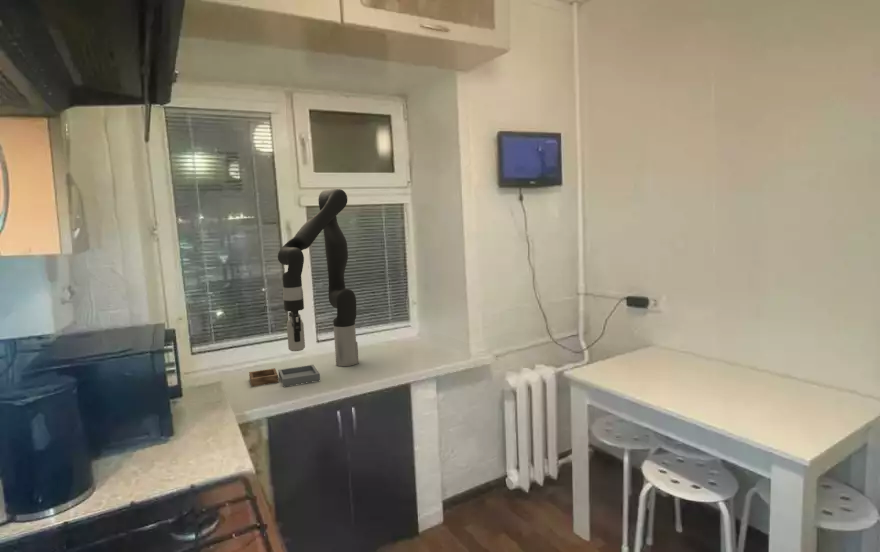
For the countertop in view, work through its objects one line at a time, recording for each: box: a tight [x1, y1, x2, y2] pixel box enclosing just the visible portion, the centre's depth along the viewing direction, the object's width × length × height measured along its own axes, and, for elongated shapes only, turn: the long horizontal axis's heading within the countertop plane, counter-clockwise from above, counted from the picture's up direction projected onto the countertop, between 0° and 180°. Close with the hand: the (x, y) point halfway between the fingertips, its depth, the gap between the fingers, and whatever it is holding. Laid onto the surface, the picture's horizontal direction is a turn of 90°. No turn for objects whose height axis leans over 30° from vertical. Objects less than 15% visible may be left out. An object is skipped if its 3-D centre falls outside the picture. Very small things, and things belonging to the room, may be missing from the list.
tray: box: [278, 364, 321, 388], centre depth 205 cm, size 14×14×3 cm
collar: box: [248, 367, 279, 387], centre depth 204 cm, size 10×10×3 cm
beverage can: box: [286, 318, 306, 352], centre depth 203 cm, size 6×6×12 cm
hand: (296, 339), depth 203 cm, fingers closed on beverage can, 5 cm apart
